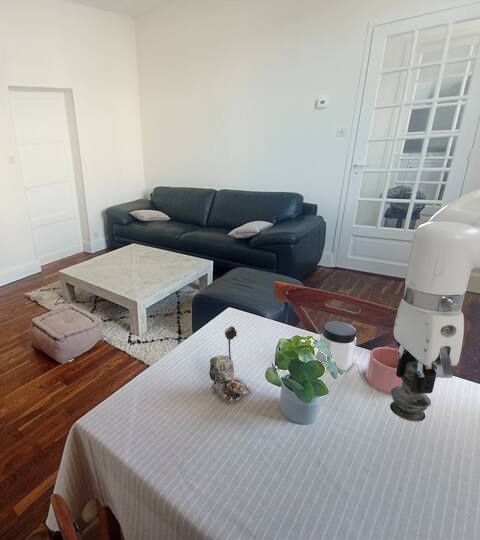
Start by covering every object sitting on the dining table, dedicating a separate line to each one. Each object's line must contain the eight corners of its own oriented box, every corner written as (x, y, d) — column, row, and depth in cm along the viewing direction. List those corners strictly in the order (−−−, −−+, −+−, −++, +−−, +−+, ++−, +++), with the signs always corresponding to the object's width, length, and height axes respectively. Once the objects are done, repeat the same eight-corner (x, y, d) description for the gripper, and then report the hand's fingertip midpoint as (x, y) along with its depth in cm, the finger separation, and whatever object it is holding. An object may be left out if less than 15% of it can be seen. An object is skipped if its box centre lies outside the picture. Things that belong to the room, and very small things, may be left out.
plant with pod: (203, 386, 98) (201, 327, 91) (240, 380, 99) (241, 320, 92) (213, 406, 90) (212, 343, 83) (253, 399, 91) (256, 335, 84)
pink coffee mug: (378, 396, 88) (383, 370, 85) (358, 370, 97) (362, 347, 94) (440, 397, 85) (447, 371, 82) (413, 371, 95) (419, 347, 92)
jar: (349, 357, 103) (355, 323, 99) (354, 373, 96) (360, 337, 92) (316, 352, 107) (320, 319, 103) (318, 368, 100) (322, 333, 96)
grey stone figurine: (391, 396, 69) (400, 346, 65) (429, 408, 65) (441, 357, 61) (385, 413, 66) (394, 362, 61) (425, 428, 61) (438, 374, 57)
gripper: (502, 319, 48) (472, 418, 55) (423, 275, 64) (407, 357, 70) (442, 321, 50) (419, 417, 56) (379, 278, 65) (367, 357, 71)
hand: (413, 383), depth 63 cm, fingers closed on grey stone figurine, 3 cm apart
